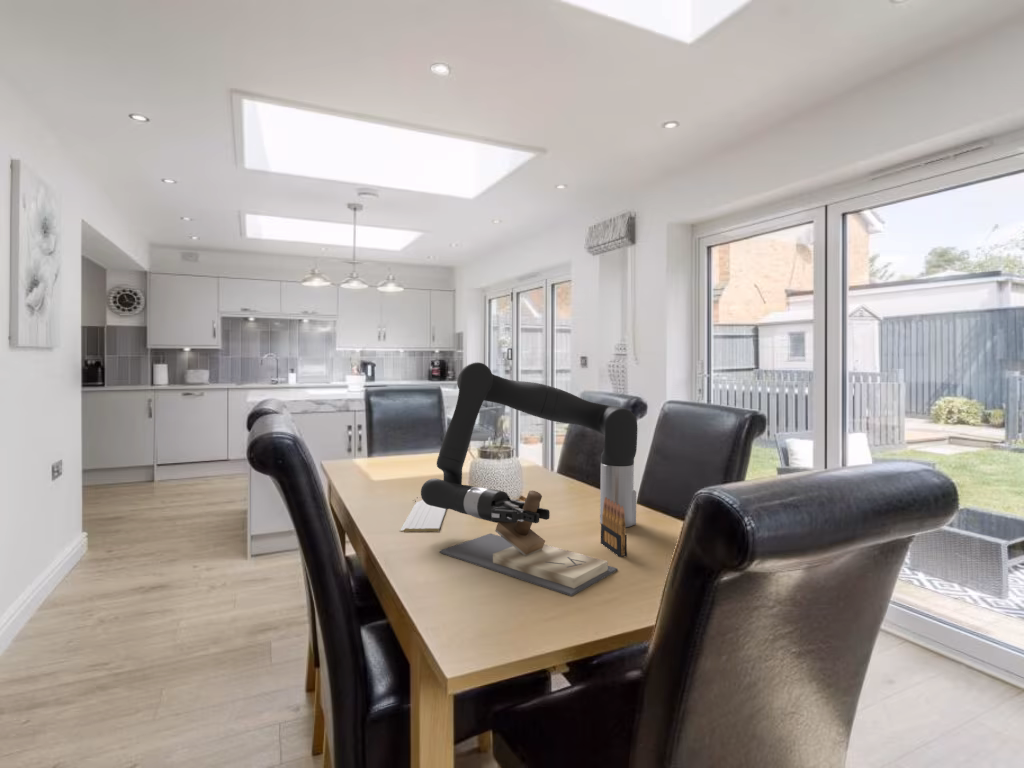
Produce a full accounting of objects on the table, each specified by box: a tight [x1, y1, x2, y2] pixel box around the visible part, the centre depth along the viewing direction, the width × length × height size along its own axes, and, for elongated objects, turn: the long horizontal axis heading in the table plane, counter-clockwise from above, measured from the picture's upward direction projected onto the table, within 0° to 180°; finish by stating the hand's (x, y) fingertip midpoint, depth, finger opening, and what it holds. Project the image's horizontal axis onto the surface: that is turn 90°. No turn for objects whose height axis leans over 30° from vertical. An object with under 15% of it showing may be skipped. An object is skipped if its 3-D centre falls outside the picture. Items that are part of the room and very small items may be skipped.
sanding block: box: [494, 490, 546, 556], centre depth 128 cm, size 10×6×12 cm, turn 50°
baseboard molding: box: [399, 498, 447, 532], centre depth 166 cm, size 31×3×12 cm
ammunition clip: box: [600, 497, 628, 558], centre depth 137 cm, size 11×2×12 cm, turn 16°
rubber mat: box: [439, 533, 618, 597], centre depth 129 cm, size 38×18×1 cm, turn 50°
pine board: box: [493, 543, 609, 588], centre depth 124 cm, size 22×13×2 cm, turn 50°
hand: (543, 516), depth 125 cm, fingers closed on sanding block, 3 cm apart
